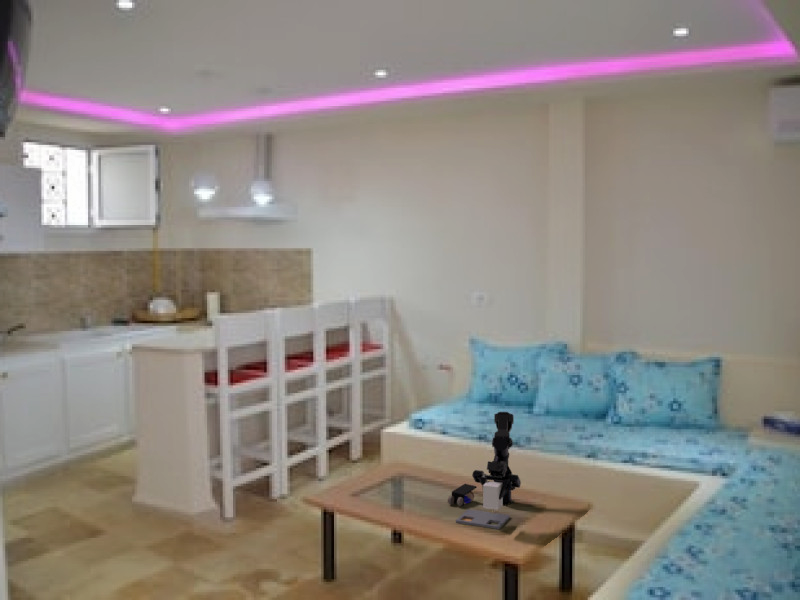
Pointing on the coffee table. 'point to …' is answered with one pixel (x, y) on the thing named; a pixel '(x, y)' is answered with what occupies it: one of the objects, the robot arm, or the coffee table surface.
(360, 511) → the coffee table surface
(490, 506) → the pale grey block
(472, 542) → the coffee table surface
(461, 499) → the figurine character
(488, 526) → the socket plate
